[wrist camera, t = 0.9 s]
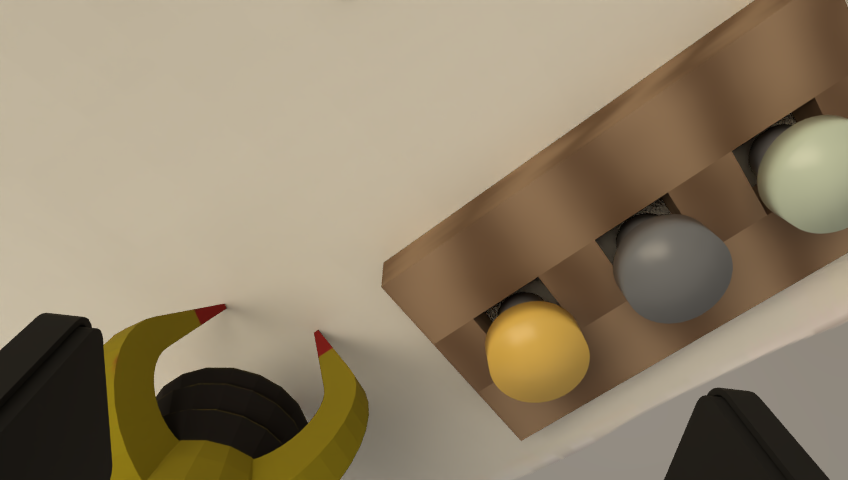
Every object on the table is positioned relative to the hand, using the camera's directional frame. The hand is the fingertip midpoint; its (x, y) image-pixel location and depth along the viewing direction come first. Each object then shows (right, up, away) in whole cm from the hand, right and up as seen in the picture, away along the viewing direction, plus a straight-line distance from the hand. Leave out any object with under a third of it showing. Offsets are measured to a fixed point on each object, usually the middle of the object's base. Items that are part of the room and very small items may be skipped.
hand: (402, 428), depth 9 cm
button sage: (+19, +8, +21) cm, 30 cm away
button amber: (+6, -1, +25) cm, 26 cm away
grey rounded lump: (+12, +3, +23) cm, 27 cm away
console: (+12, +4, +25) cm, 28 cm away
